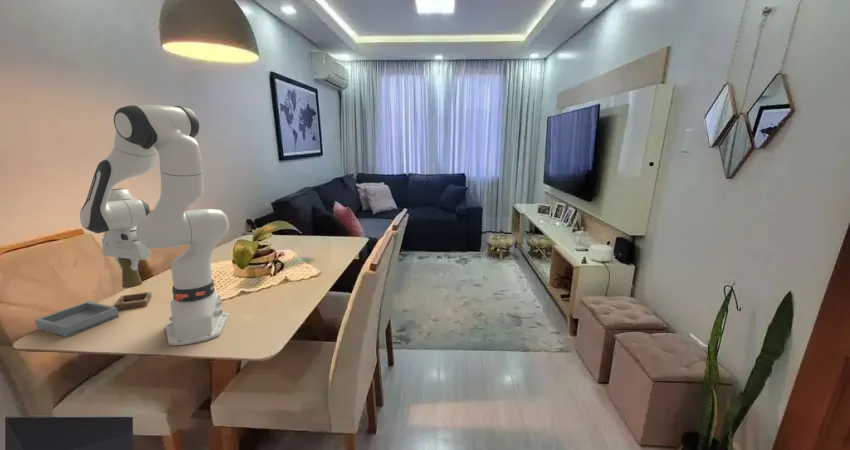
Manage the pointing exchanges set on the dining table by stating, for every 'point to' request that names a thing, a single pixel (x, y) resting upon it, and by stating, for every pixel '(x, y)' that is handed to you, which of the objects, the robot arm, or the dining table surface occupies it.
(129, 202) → the robot arm
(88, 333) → the dining table surface
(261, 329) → the dining table surface
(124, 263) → the olive tapered knobbed cylinder
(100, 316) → the tray
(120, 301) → the holder collar
